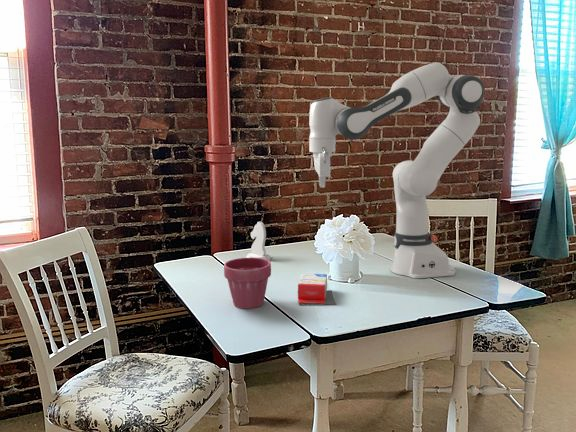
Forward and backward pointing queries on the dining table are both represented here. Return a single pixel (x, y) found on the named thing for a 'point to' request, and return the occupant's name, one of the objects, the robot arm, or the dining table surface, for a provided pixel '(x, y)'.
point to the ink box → (312, 288)
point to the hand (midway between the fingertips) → (322, 187)
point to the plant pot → (247, 280)
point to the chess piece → (259, 242)
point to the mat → (328, 300)
